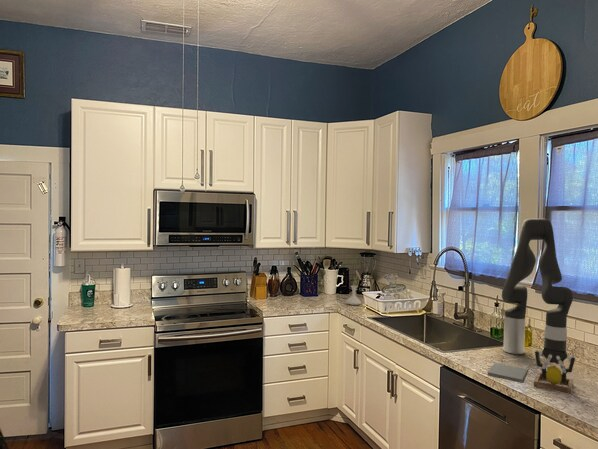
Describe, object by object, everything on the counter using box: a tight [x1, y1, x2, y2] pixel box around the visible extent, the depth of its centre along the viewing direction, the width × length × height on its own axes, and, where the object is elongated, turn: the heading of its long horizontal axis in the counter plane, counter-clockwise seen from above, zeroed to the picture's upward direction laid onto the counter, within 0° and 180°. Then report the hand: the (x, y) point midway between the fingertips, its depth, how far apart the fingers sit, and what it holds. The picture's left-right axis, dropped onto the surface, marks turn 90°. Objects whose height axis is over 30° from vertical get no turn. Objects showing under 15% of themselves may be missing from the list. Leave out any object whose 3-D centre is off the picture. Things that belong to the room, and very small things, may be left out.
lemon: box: [546, 365, 562, 385], centre depth 172 cm, size 6×6×8 cm
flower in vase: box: [345, 270, 362, 306], centre depth 324 cm, size 13×11×25 cm
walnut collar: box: [533, 372, 574, 395], centre depth 172 cm, size 12×12×2 cm
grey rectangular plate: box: [487, 362, 529, 383], centre depth 185 cm, size 16×13×1 cm
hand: (553, 379), depth 172 cm, fingers closed on lemon, 5 cm apart
